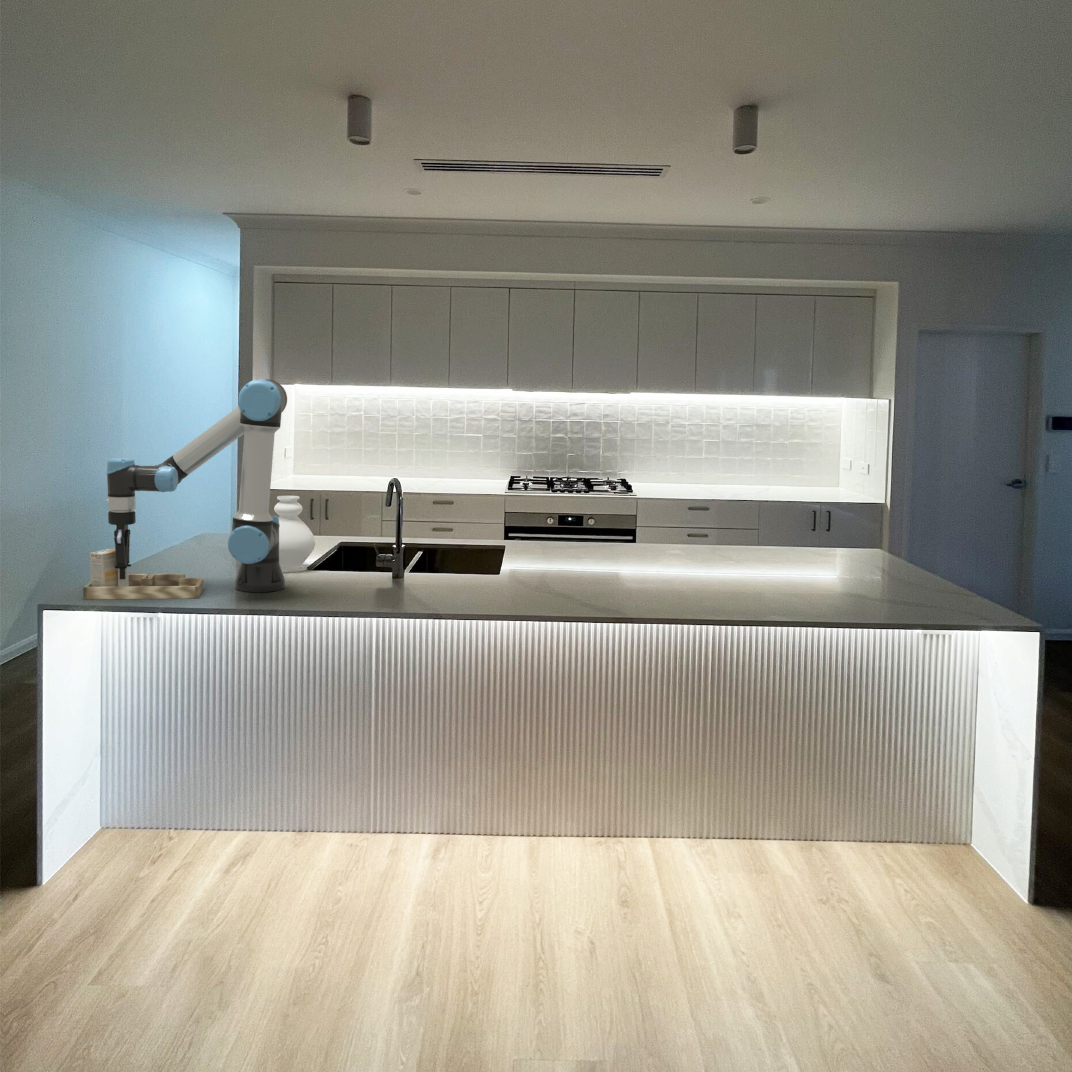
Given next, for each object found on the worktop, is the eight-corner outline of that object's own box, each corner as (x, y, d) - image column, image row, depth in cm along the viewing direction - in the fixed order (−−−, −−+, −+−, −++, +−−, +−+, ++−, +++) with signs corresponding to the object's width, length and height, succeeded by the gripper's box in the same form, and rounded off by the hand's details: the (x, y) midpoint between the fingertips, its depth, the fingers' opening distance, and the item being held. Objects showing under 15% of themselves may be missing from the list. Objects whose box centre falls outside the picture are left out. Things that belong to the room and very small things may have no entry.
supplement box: (110, 591, 324) (109, 548, 322) (123, 592, 323) (122, 549, 321) (90, 596, 317) (89, 552, 315) (103, 597, 315) (102, 553, 313)
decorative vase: (265, 564, 378) (265, 493, 374) (317, 564, 380) (317, 494, 376) (258, 573, 360) (257, 499, 357) (312, 574, 362) (312, 500, 359)
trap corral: (205, 584, 339) (205, 573, 338) (198, 598, 318) (198, 586, 318) (97, 585, 332) (97, 574, 332) (83, 599, 312) (83, 587, 311)
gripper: (112, 507, 323) (114, 584, 326) (104, 513, 310) (106, 593, 313) (138, 507, 324) (140, 584, 328) (131, 513, 311) (133, 593, 315)
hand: (123, 589), depth 320 cm, fingers closed
